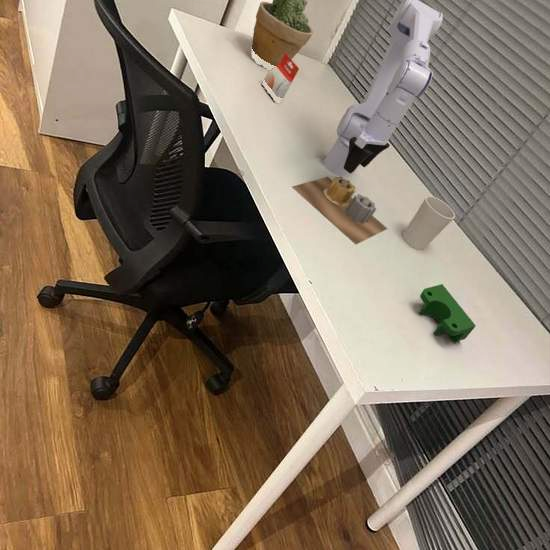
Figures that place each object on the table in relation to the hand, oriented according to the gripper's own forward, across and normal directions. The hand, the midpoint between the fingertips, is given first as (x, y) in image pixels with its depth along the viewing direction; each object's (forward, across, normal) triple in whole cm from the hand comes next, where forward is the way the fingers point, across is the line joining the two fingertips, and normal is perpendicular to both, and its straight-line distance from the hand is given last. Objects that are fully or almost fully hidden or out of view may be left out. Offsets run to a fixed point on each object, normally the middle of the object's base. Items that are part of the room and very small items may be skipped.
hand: (354, 167), depth 126 cm
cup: (+10, -8, +20) cm, 24 cm away
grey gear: (+9, +1, +7) cm, 11 cm away
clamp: (+10, +14, +36) cm, 40 cm away
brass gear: (+9, 0, 0) cm, 9 cm away
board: (+10, +3, +3) cm, 11 cm away
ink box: (+10, -28, -40) cm, 50 cm away
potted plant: (+10, -46, -56) cm, 73 cm away
